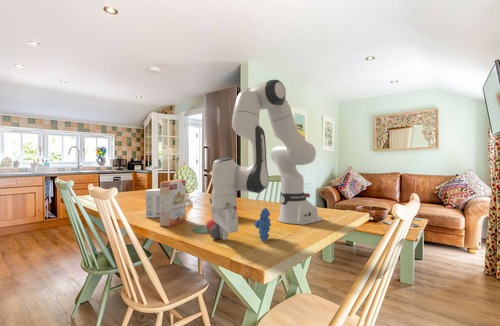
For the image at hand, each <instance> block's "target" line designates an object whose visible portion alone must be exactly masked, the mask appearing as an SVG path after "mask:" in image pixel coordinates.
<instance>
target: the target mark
mask: <svg viewBox="0 0 500 326" xmlns="http://www.w3.org/2000/svg"><path fill="white" fill-rule="evenodd" d="M192 231H193V232H195V233H196V234H204V235H205V234H209V235H210V231H208V230H207V228H206V224H201V225H199V226H196V227H193V229H192Z"/></svg>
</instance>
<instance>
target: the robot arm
mask: <svg viewBox="0 0 500 326" xmlns="http://www.w3.org/2000/svg"><path fill="white" fill-rule="evenodd" d="M286 94H287V92H286V88H285V85H284V84H283V83H282V81H280V80H279V79H269V80H267V81H264V82H260V83H258V84H256V85H253V86H252V87H249V88H247V89H246V90H242V91H241V92H239V93H238V95H237V96H236V100H235V103H234V107H233V112H232V117H231V127H232V129H233V131H234V133H236V135H238V136H239V137H241V138H243V139H246V140H248V141H250V143H251V145H252V165H251V166H243V165H240V164H237V163H236V162H235V159H234V158H232V157H220V158H216V159H215V160H214V161H213V163H212V167H211V168H212V169H211V183H212V191H211V197H210V198H209V204H210V209H211V210H210V211H211V219H212V220H213V221H214V222H215V223H216V224H218V225H219V228H220V233H221V238H220V239H223V240H224V241H225V240H228V239H229V238H228V237H229V234H232V233H233V234H234V233H237V232H238V231H239V217H238V212H237V209H236V210H235V209H234V207H235V206H236V207H237V191H241V192H249V193H255V194H260V193H262V192H263V191H264V190H265V189H266V188H267V187H268V185H269V182H270V180H269V179H270V178H269V172H268V165H267V164H268V163H267V162H268V161H267V145H266V144H267V142H266V135H265V130H264V129H263V127H261V125H260V110H261V111H262V110H267V114H268V117H269V118H268V119H269V121H270V125H271V127H272V131H273V135H275V137H276V138H277V139H278V140H280V141H281V142H282V143H281V144H278V145H275V146H274V147H273V148H272V149H271V151H270V157H271V160H272V162H274V163H275V164H276V167H277V169H278V172H279V174H280V184H281V191H280V210H279V215H278V218H277V221H279V222H281V223H284V224H290V225H291V224H293V225H308V224H312V223H318V222H321V221H323V217H322V216H319V213H318V209H317V207H316V206H315V205H314V204H312V202H310V201H309V200H308V199H307V198H311V193H308V192H307V193H305V190H304V186H305V185H304V177H303V175H302V174H301V173H300V172H299V171H298V169H297V166H304V165H309V164H312V163H313V162H314V161H315V159H316V155H317V151H316V149H315V146H314V145H313V144H312V143H310V142H308V141H307V140H306V139H305V138H304V137H303V136H302V134H301V133H300V131H299V130H298V128H297V125H296V122H295V119H294V115H293V112H292V109H291V107H290V104H289V102H288V100H287V98H286ZM235 190H236V191H235Z"/></svg>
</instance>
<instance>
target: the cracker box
mask: <svg viewBox="0 0 500 326" xmlns="http://www.w3.org/2000/svg"><path fill="white" fill-rule="evenodd" d="M186 183H187V181H186V180H185V179H173V180H166V181H160V182H159V189H160V217H159V226H160V227H167V228H170V227H173V226H175V225H177V224H180V223H183V222H185V221H186V205H187V204H186V198H187V197H186V194H187V193H186V192H187V191H186V189H187V188H186V187H187V184H186Z"/></svg>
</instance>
